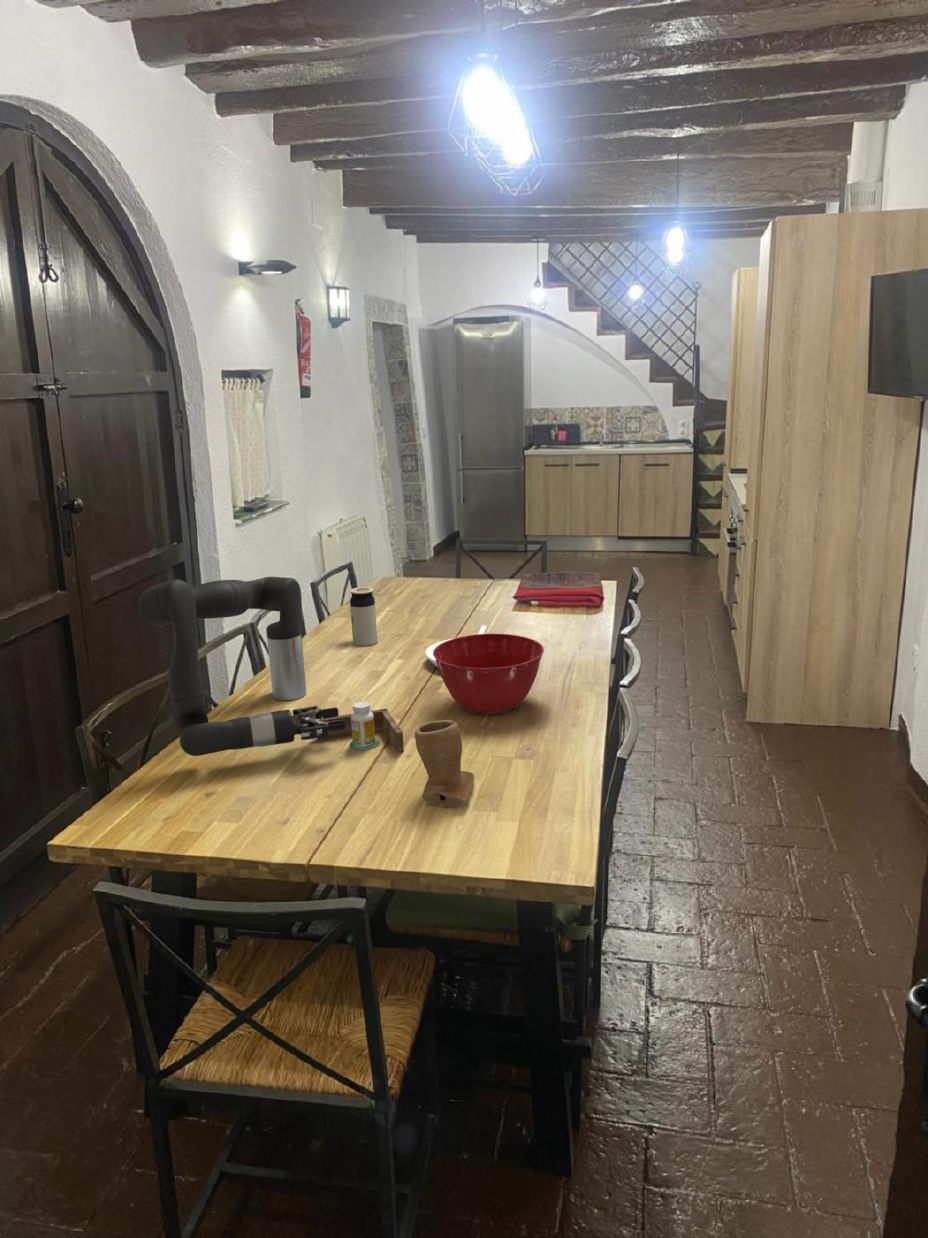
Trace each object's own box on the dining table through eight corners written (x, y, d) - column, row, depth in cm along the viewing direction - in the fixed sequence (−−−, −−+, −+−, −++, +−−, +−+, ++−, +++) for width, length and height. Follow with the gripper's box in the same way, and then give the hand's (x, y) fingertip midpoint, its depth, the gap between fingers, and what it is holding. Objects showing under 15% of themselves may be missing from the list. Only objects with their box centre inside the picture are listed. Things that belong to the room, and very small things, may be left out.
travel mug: (379, 639, 296) (376, 586, 291) (374, 646, 289) (371, 592, 284) (356, 639, 297) (352, 586, 292) (350, 646, 289) (346, 592, 285)
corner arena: (317, 738, 217) (315, 719, 215) (387, 727, 222) (386, 708, 220) (328, 764, 202) (327, 743, 201) (403, 751, 207) (402, 731, 206)
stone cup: (424, 776, 194) (421, 711, 190) (479, 778, 192) (476, 713, 188) (408, 809, 180) (403, 739, 176) (466, 812, 178) (463, 742, 174)
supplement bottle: (376, 738, 215) (373, 700, 212) (374, 747, 210) (372, 708, 207) (353, 739, 215) (350, 701, 212) (351, 748, 209) (348, 709, 207)
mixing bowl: (537, 728, 218) (536, 668, 214) (424, 723, 223) (420, 664, 219) (550, 688, 244) (549, 634, 240) (448, 685, 250) (446, 632, 246)
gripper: (273, 724, 196) (346, 713, 201) (266, 703, 209) (334, 693, 214) (276, 755, 198) (348, 744, 203) (269, 732, 211) (337, 722, 216)
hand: (341, 717), depth 209 cm, fingers open, 8 cm apart
